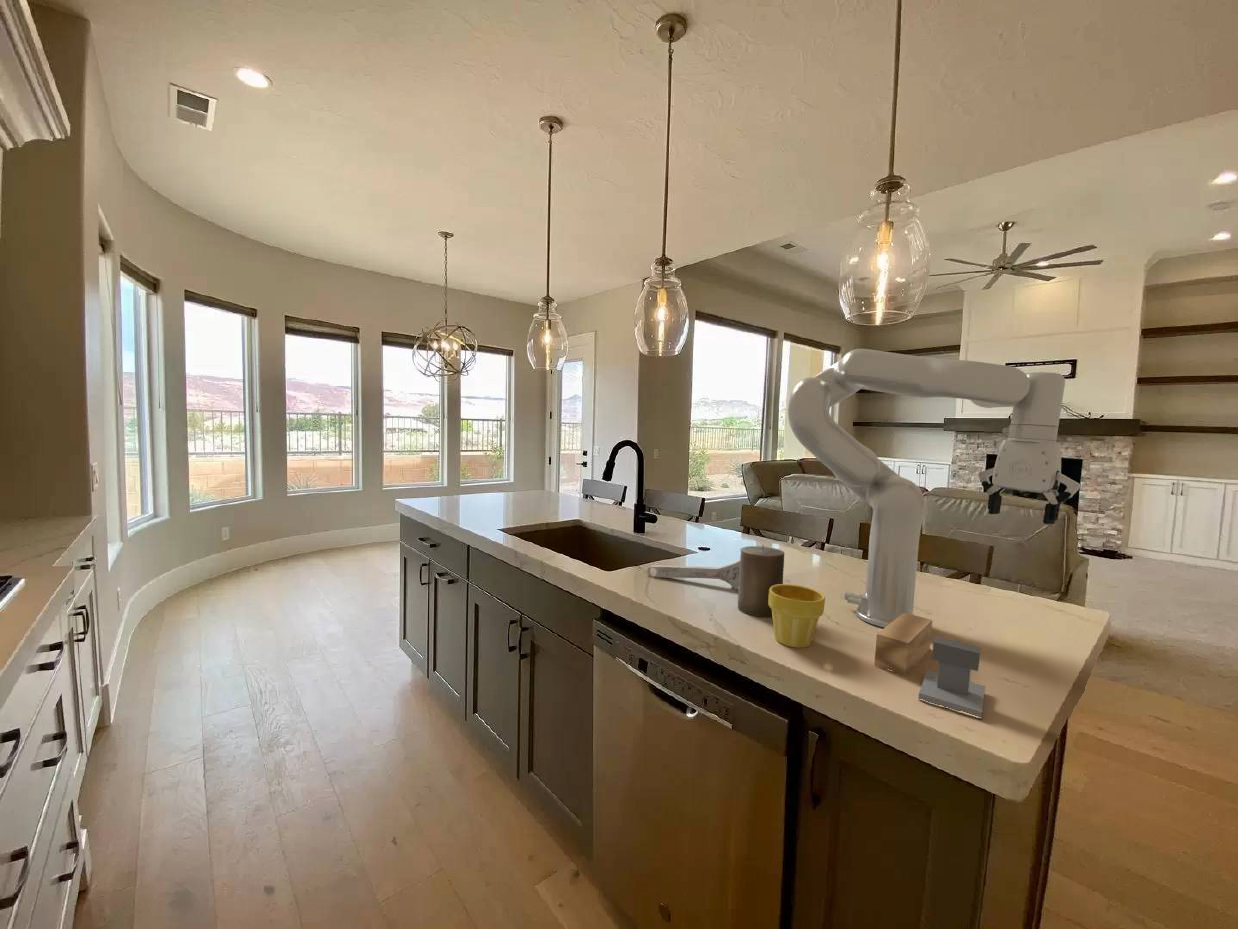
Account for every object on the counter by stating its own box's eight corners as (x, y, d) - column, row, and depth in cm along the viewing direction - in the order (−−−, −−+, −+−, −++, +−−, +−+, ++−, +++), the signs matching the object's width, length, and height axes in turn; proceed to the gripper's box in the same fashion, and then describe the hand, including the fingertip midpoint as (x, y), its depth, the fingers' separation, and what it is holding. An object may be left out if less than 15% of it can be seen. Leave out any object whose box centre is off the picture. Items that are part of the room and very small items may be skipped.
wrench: (650, 585, 141) (761, 590, 130) (647, 586, 140) (760, 592, 128) (648, 556, 141) (760, 558, 129) (645, 557, 139) (759, 560, 128)
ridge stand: (918, 700, 79) (923, 647, 79) (926, 676, 87) (931, 628, 87) (981, 720, 75) (986, 663, 74) (984, 693, 82) (989, 642, 82)
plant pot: (833, 646, 98) (837, 596, 98) (795, 656, 93) (799, 604, 92) (791, 626, 107) (794, 581, 106) (754, 635, 102) (757, 587, 101)
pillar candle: (786, 618, 112) (791, 550, 111) (741, 616, 112) (745, 548, 111) (774, 603, 122) (778, 541, 121) (733, 601, 122) (737, 539, 121)
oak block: (874, 666, 91) (876, 634, 90) (901, 641, 102) (903, 612, 102) (905, 677, 87) (908, 643, 87) (929, 650, 99) (932, 620, 98)
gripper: (975, 431, 109) (964, 510, 110) (1078, 436, 94) (1063, 528, 95) (994, 433, 112) (983, 510, 114) (1095, 438, 97) (1081, 527, 99)
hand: (1020, 518), depth 105 cm, fingers open, 9 cm apart
